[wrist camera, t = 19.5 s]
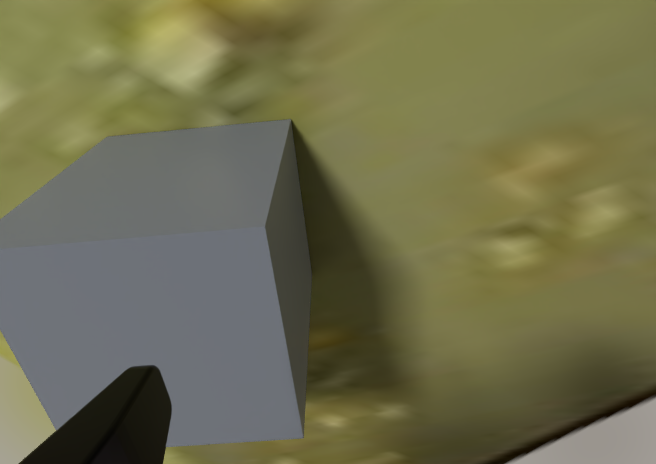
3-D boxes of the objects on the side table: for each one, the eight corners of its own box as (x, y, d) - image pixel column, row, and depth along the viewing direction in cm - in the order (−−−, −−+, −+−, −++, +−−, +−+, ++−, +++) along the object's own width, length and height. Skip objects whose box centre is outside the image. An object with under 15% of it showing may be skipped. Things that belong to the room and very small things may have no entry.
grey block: (290, 119, 19) (264, 226, 11) (312, 275, 22) (303, 438, 15) (106, 136, 19) (-43, 252, 11) (156, 287, 23) (68, 453, 15)
